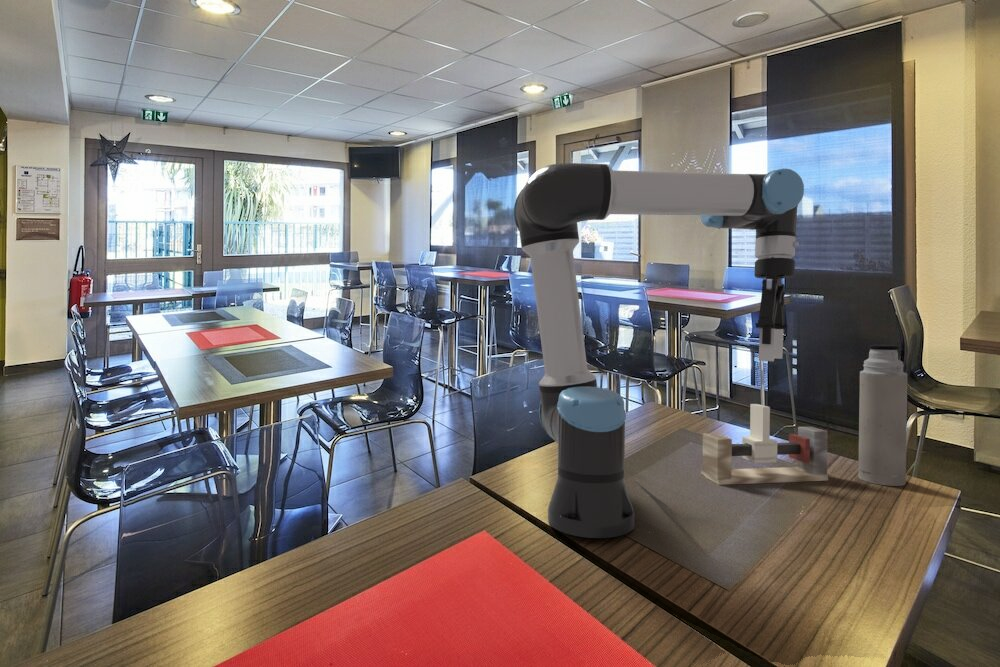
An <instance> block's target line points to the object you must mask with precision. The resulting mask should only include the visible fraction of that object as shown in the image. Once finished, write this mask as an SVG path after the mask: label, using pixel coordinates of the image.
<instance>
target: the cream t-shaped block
mask: <svg viewBox="0 0 1000 667" xmlns="http://www.w3.org/2000/svg"><path fill="white" fill-rule="evenodd" d="M749 411H750V412H749V413H750V416H749V418H750V420H749V436H743V437H742V439H741V440H742V442H741V444H750V445H752V456H741V458H743V459H745V460H747V461H749V462H752V463H754V464H758V463H759V464H761V463H762V464H764V463H765V464H766V463H778V455H777V443H778V440H775V439H773V438H770V437H771V436H770V434H771V432H770V429H771V428H770V427H771V426H770V425H771V424H770V423H771V422H770V421H771V419H770V418H771V416H770V415H771V407H770V406H767V405H765V404H764V405H763V404H759V403H750V410H749Z"/></svg>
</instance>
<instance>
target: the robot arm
mask: <svg viewBox="0 0 1000 667" xmlns="http://www.w3.org/2000/svg"><path fill="white" fill-rule="evenodd" d="M804 194H805V185H804V181H803V179H802V177H801V175H799V173H798V172H797V171H795V170H793V169H791V168H779V169H775V170H771V171H769V172H767V173H762V174H761V173H760V174H759V173H747V174H746V173H721V172H720V173H719V172H716V173H715V172H712V173H711V172H681V171H679V172H676V171H645V170H644V171H643V170H641V171H640V170H613V169H612V168H611V165H609V164H608V163H584V162H583V163H580V162H579V163H578V162H575V163H573V162H572V163H571V162H569V163H568V162H567V163H563V162H562V163H555V164H554V163H553V164H548V165H546V166H543V167H541V168H540V169H537V170H536V171H535V172H533V174H532V175H531V176H530V177H529V178H528V180H527V182H526V183H525V185H524V187H523V188H522V189H521V190H520V191H519V193H518V195H517V197H516V198H515V202H514V205H513V221H514V224H515V226H516V228H517V230H518V232H519V237H520V238H519V240H520V244H521V245H520V246H521V250H522V251H523V252H524V253H525V254H526V255H527V256H529V258H530V264H531V273H532V280H533V288H534V296H535V304H536V313H537V321H538V328H539V336H540V342H541V351H542V358H543V359H542V360H543V367H544V375H543V377H542V378H541V380H540V381H538V387H539V396H540V402H539V407H538V417H539V421H540V425H541V427H542V429H543V430H544V432H545V433H546V435H548V436H549V437H550V438H551V439H552V440H554V442H556V443H557V473H558V474H557V479H556V483H555V485H554V488H553V492H552V494H551V495H552V496H551V498H550V501H549V503H548V508H547V522H548V524H549V525H550V526H551V527H552V528H553V529H555V530H557V531H559V532H562V533H563V534H566V535H571V536H574V537H580V538H590V539H592V538H593V539H607V538H616V537H620V536H624V535H626V534H628V533H630V532H631V531H633V530H634V529H635V511H634V507H633V504H632V501H631V498H630V494H629V491H628V489H627V485H626V482H625V459H626V458H625V450H626V449H625V448H626V447H625V445H626V442H625V441H626V440H625V439H626V431H625V430H626V419H627V418H626V417H627V414H626V410H625V400H624V399H623V396H621V395H620V393H618V392H616V391H614V390H612V389H607V388H603V387H599V386H598V383H597V381H598V380H597V376H596V375H595V374H594V373H592V372H591V371H590V370H589V369H588V363H587V355H586V347H585V339H584V332H583V331H584V330H583V322H582V316H581V308H580V298H579V291H578V282H577V275H576V267H575V258H574V250H575V248H576V247H577V246H578V244H579V243H580V235H579V228H578V223H580V222H587V221H590V220H591V221H593V220H594V221H603V220H604V221H605V219H607V218H608V216H610V215H639V216H641V215H642V216H644V215H646V216H647V215H649V216H656V215H657V216H660V215H661V216H665V215H666V216H700V221H701V222H702V224H703V225H704V226H706V227H708V228H713V229H714V228H715V229H719V230H721V229H730V230H731V229H732V230H735V229H737V230H750V231H751V230H755V239H754V240H755V241H754V242H755V244H754V257H755V258H756V259H757V260H755V262H754V277H755V278H756V279H762V281H761V284H762V287H761V299H760V304H759V305H760V306H759V313H758V314H759V315H758V320H757V322H756V323H755V328H757V329H759V344H758V361H760V362H761V361H762V362H775V359H776V360H778V359H779V360H780V359H781V360H783V354H784V330H787V329H788V324H786V321H785V301H786V300H785V293H786V286H785V284H784V283H783V281H782V279H790V278H793V277H795V274H796V272H795V270H796V260H794V257H795V255H796V248H795V247H799V246H800V244H799V241H796V234H797V216H798V206H799V204H800V203H801V202H802V200H803V197H804Z"/></svg>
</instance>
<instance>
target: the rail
mask: <svg viewBox="0 0 1000 667" xmlns="http://www.w3.org/2000/svg"><path fill="white" fill-rule="evenodd" d="M778 455H780V456H783V455H785V456H786V455H788V457H789V458H790V459H793V460H796V461H797V466H789V467H782V466H781V467H763V468H762V467H759V468H758V467H756V468H732V466H733V465H732V460H733V459H732V457H742V456H752V445H750V444H742V443H736V444H735V443H732V438H730V437H728V436H725V435H723V434H719V433H717V432H710V433H709V432H708V433H707V432H706V433H705V432H704V433H703V432H702V470H700V475H701V474H703V475H704V476H705V477H704V476H703V477H704V478H706V479H708V480H710V481H711V482H713V483H715V484H716V485H719V486H720V485H744V484H745V485H746V484H747V485H749V484H771V483H773V484H774V483H777V484H778V483H797V482H798V483H799V482H821V481H822V482H823V481H829V474H828V430H825V429H821V428H817V427H814V426H797V434H795V433H789V434H788V442H777V456H778Z"/></svg>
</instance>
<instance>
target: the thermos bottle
mask: <svg viewBox="0 0 1000 667" xmlns="http://www.w3.org/2000/svg"><path fill="white" fill-rule="evenodd" d="M899 349H900V348H899V345H892V344H871V345H869V353H868V358H867V359H865V360H864V361H863V364H862V366H863V370H861V371H859V398H858V399H859V401H858V402H859V406H858V407H859V408H858V409H859V410H858V411H859V412H858V413H859V415H858V421H859V422H858V475H857V476H858V478H859V479H860V480H861V481H863V482H866V483H871V484H873V485H874V484H875V485H881V486H889V487H899V486H900V487H901V486H905V485H906V484H907V435H908V434H907V430H908V428H907V426H908V425H907V424H908V422H907V421H908V373H907V372H904V367H905V365H904V362H903V361H902V360H900V359H899V352H898V350H899Z"/></svg>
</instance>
